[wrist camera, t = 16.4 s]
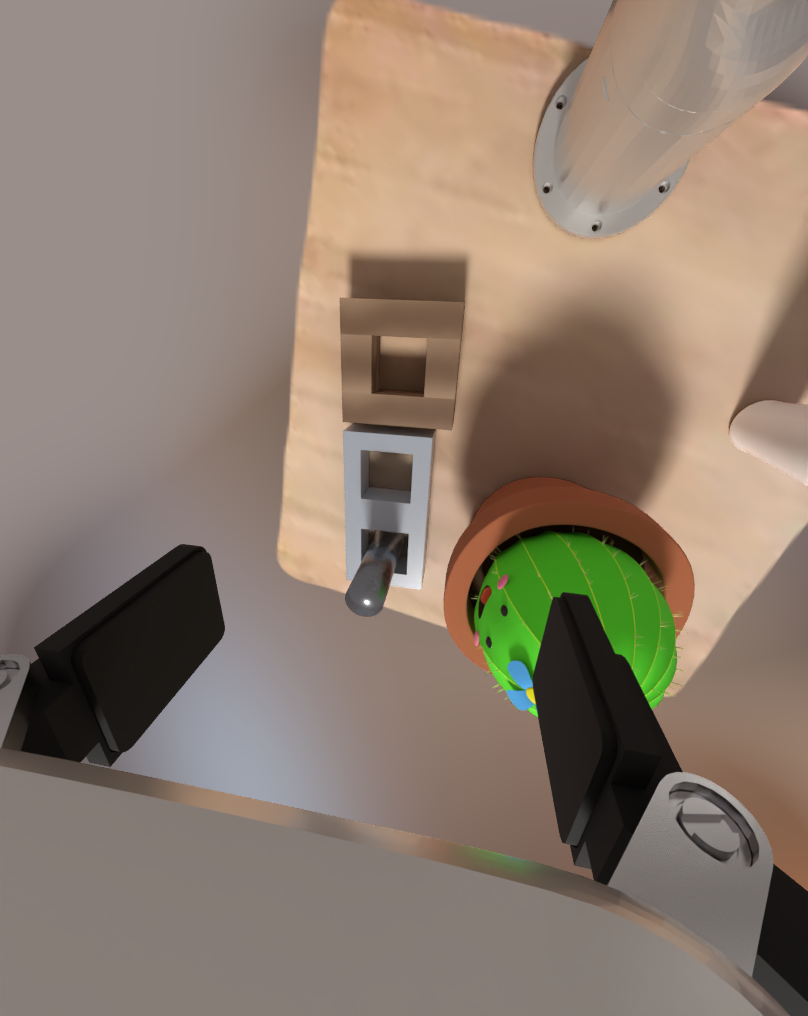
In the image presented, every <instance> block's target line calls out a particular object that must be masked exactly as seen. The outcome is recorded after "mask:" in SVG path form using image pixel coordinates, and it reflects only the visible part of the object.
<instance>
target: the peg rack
mask: <svg viewBox="0 0 808 1016" xmlns="http://www.w3.org/2000/svg"><path fill="white" fill-rule="evenodd" d="M434 443H435V430H429V429H416V428H403V427H390V426H377V425H364V424H352V425H350V426H349V427H348V428H346V429H345V430H344V431H343V451H344V491H345V531H346V571H347V580H350V581H352V580H353V578H354V576H355V574H356V572H357V570H358V568H359V566H360V564H361V562H362V560H363V558H364V556H365V554H366V552H367V550H368V548H369V529H371V530H379V531H388V532H397V533H406V534H409V541H408V558H401V557H399V559H398V562H397V565H396V568H395V571H394V574H393V577H392V580H391V583H390V586H396V587H404V588H412V589H419V590H421V588H422V583H423V578H424V572H425V559H426V546H427V533H428V520H429V507H430V494H431V482H432V469H433V456H434ZM369 451H380V452H391V453H403V454H413V467H412V485H411V491H405V490H395V489H385V488H375V487H369Z"/></svg>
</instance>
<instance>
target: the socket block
mask: <svg viewBox="0 0 808 1016" xmlns="http://www.w3.org/2000/svg"><path fill="white" fill-rule="evenodd" d="M464 307H465V305H464V302H449V301H420V300H391V299H361V298H340V330H341V370H342V410H343V422H351V423H364V424H377V425H390V426H403V427H416V428H429V429H442V430H452V427H453V421H454V411H455V400H456V390H457V380H458V369H459V359H460V348H461V338H462V328H463V317H464ZM380 336H394V337H415V338H428V340H427V356H426V372H425V388H424V392H415V391H399V390H384V389H379V385H380Z"/></svg>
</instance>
